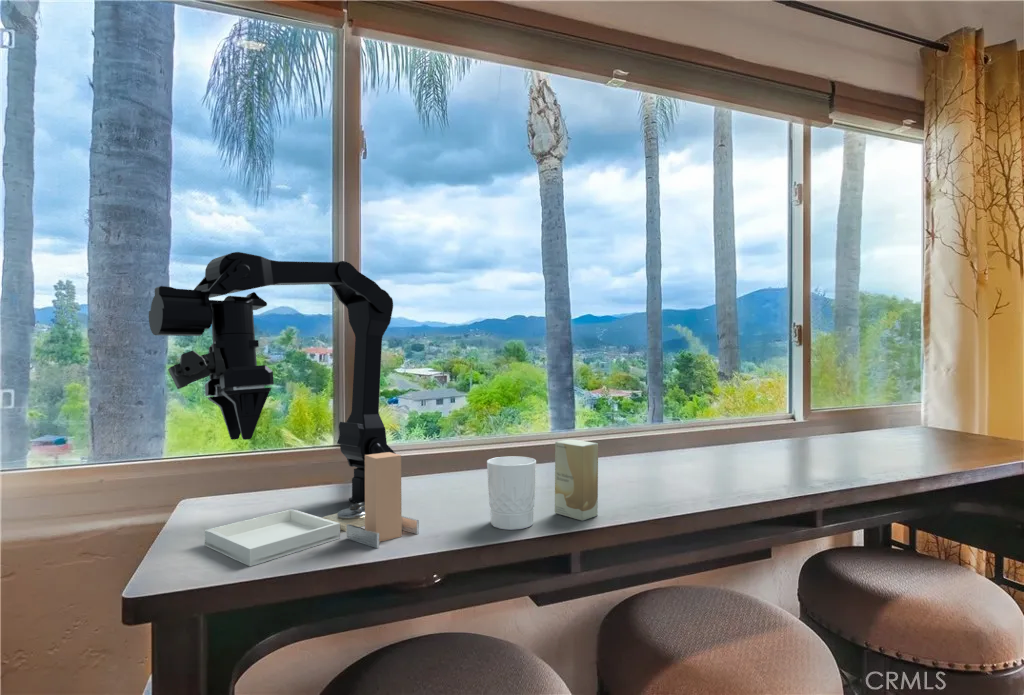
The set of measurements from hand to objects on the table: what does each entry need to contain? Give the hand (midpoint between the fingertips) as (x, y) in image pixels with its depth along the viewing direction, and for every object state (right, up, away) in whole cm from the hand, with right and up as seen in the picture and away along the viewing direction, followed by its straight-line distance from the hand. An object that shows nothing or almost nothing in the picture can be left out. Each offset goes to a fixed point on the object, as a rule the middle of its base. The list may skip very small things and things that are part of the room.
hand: (240, 439), depth 78 cm
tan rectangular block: (+21, -14, 0) cm, 26 cm away
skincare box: (+51, -15, +9) cm, 54 cm away
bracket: (+18, -14, +3) cm, 23 cm away
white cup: (+41, -15, +5) cm, 44 cm away
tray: (+6, -14, -2) cm, 16 cm away
